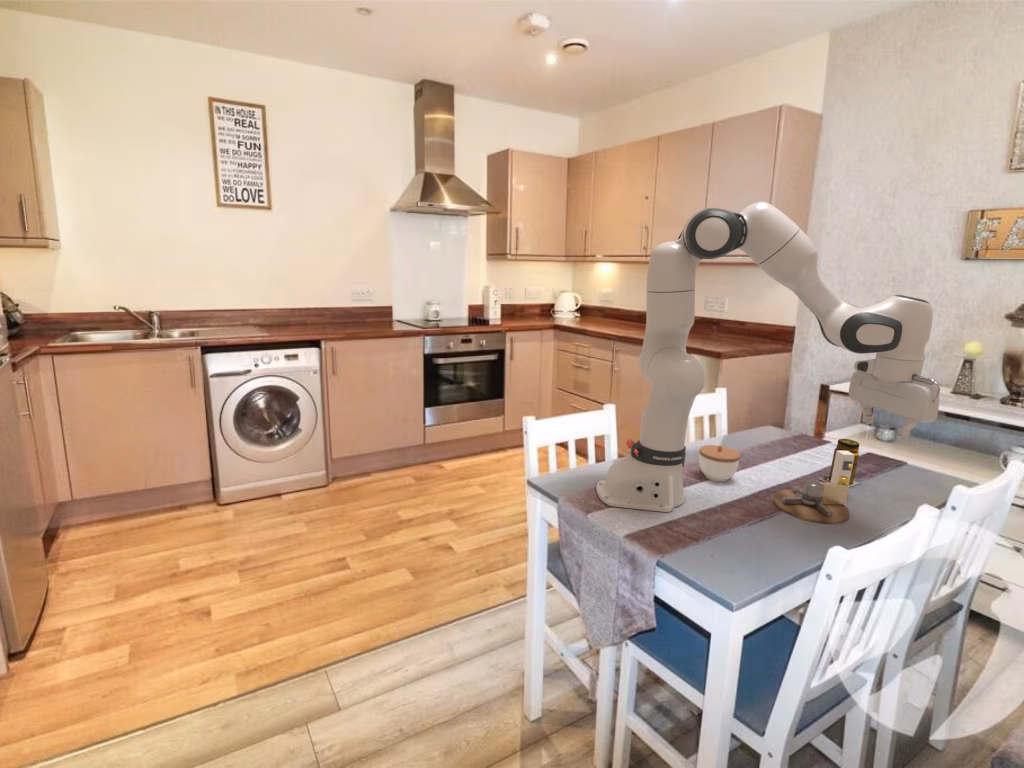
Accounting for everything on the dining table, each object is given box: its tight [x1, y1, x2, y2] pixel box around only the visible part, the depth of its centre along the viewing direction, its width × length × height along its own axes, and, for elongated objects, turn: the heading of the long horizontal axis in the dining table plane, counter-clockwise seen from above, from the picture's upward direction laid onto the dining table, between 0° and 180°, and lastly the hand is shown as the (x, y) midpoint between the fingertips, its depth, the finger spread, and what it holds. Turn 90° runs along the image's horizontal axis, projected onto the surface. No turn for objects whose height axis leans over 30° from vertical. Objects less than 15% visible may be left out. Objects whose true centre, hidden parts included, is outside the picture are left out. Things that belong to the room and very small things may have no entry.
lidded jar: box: [698, 444, 741, 483], centre depth 154 cm, size 11×11×9 cm
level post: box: [831, 451, 855, 485], centre depth 145 cm, size 3×4×12 cm
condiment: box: [818, 438, 860, 488], centre depth 154 cm, size 7×8×12 cm
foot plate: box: [772, 489, 850, 525], centre depth 139 cm, size 17×17×1 cm
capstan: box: [782, 476, 850, 516], centre depth 138 cm, size 15×16×7 cm
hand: (884, 429), depth 124 cm, fingers open, 8 cm apart
